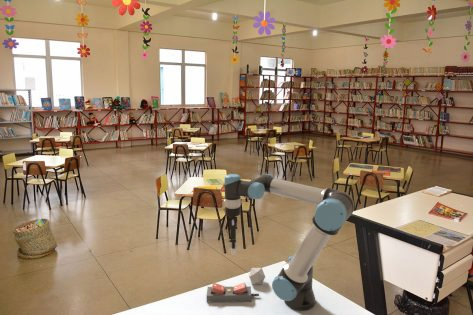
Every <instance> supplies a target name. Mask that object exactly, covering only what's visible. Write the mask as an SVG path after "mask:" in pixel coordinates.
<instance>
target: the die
mask: <svg viewBox="0 0 473 315" xmlns="http://www.w3.org/2000/svg"><path fill="white" fill-rule="evenodd" d="M248 277H249V280H250V282H251V285H263V284H264V281H265V279H266V275H265V273H264V270H263V268H262V267H251V269H250V271H249V274H248Z"/></svg>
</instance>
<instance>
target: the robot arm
mask: <svg viewBox="0 0 473 315" xmlns="http://www.w3.org/2000/svg"><path fill="white" fill-rule="evenodd" d="M223 186H224V200H223V202H224V206H225V207H224V215H225V216H227V217H228V222H229V228H230V240H228V242H229V244H230V255H237V230H238V226H237V223H238V216H240V215H241V214H242V213H241V212H242V210H241V208H242V207H241V205H242V203H241V202H242V201H241V197H242V198H248V199H252V200H261V199H262V198H263V197H264V195H265V193H270V194H272V195H273V194H274V195H277V196H281V197H284V198H288V199H293V200H297V201H300V202H305V203H309V204H312V205H316V209H315V210H314V215H313V217H312V218H311V222H312V225H311V227H310V228H309V230H308V232H307V234H306V235H305V237H304V238H303V240H302V242H301V244H300V246H299V247H298V249H297V250H296V252H295V253H294V255H290V256H289V257H288V262H285V264H283V265H284V266H283V267H282V268H281V269H280V271H279V273H278V275H277V276H276V277H274V279H273V280H272V282H271V287H272V290H273V293H274V294H275V296H276V297H278V298H279V299H280V300H283V302H284V304H285V305H286V307H287V306H288V307H289V308H291V309H292V310H296V311H307V310H310V309H312V308H314V306H316V295H315V292H314V289H313V277H314V274H313V273H314V263H315V261H317V259H318V257H319V255H320V253H322V251H323V249H324V248H325V246H326V245H327V243H328V241H329V240H330V238H331V237H334V236H337V235H338V234H339V231H340V230H341V229H342V227H343V226H344V224H345V223H346V222H347V220H348V219H349V218H350V217H351V215H352V214H353V213H354V211H355V202H354V200H353V199H354V198H352V196H351V195H350V194H348V193H347V192H345V191H343V190H340V189H339V190H338V189H335V188H330V187H326V188H325V189H324V188H320V187H315V186H311V185H306V184H302V183H298V182H293V181H288V180H284V179H280V178H275V176H273V175H272V174H269V173H267V174H262V175H260V176H258V177H256V178H254V179H251V180H250V181H249V180H243V179H241V176H240V174H237V173H229V174H226V175H225V176H224V183H223Z"/></svg>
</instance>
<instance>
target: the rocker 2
mask: <svg viewBox="0 0 473 315" xmlns="http://www.w3.org/2000/svg"><path fill="white" fill-rule="evenodd" d="M246 286H247V285H246V282H242V283H239V284H236V285H234V286H233V287H234V293H235V294H240V293H243V292H246V291H247V288H246Z"/></svg>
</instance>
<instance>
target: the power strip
mask: <svg viewBox="0 0 473 315" xmlns="http://www.w3.org/2000/svg"><path fill="white" fill-rule="evenodd" d="M246 288H247V291H246V292H243V293H240V294H235V293H234V286H225V289H224V293H223V294H217V293H214V292H211V290H212V286H207V290H206V302H207V303H246V302H247V303H249V302H250V303H251V302H252V297H259V296H260V293H252V286H247V285H246Z"/></svg>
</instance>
